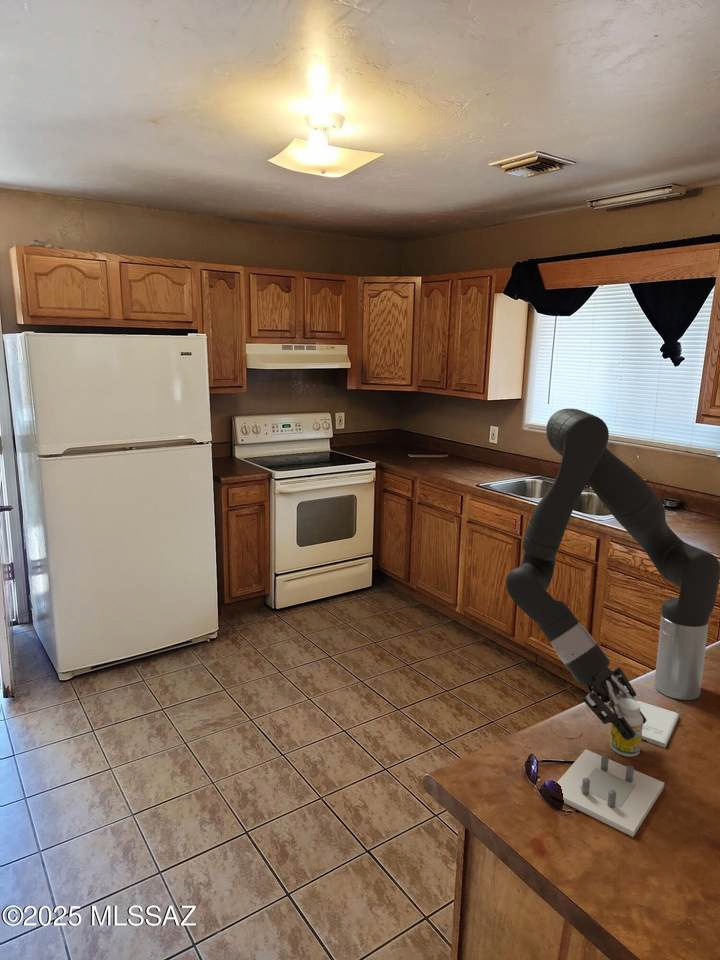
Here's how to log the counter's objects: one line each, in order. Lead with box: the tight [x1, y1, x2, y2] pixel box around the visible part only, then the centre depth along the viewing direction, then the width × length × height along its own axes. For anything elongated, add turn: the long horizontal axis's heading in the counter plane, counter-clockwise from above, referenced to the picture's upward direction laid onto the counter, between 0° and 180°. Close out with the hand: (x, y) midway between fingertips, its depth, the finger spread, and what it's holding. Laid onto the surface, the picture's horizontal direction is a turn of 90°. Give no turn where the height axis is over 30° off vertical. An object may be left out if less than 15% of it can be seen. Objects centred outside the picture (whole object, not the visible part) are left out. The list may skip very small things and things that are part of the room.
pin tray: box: [556, 749, 665, 838], centre depth 108 cm, size 15×14×4 cm
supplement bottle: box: [609, 698, 643, 758], centre depth 119 cm, size 5×5×10 cm
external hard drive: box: [636, 700, 680, 749], centre depth 127 cm, size 2×8×12 cm
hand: (636, 730), depth 118 cm, fingers closed on supplement bottle, 5 cm apart
